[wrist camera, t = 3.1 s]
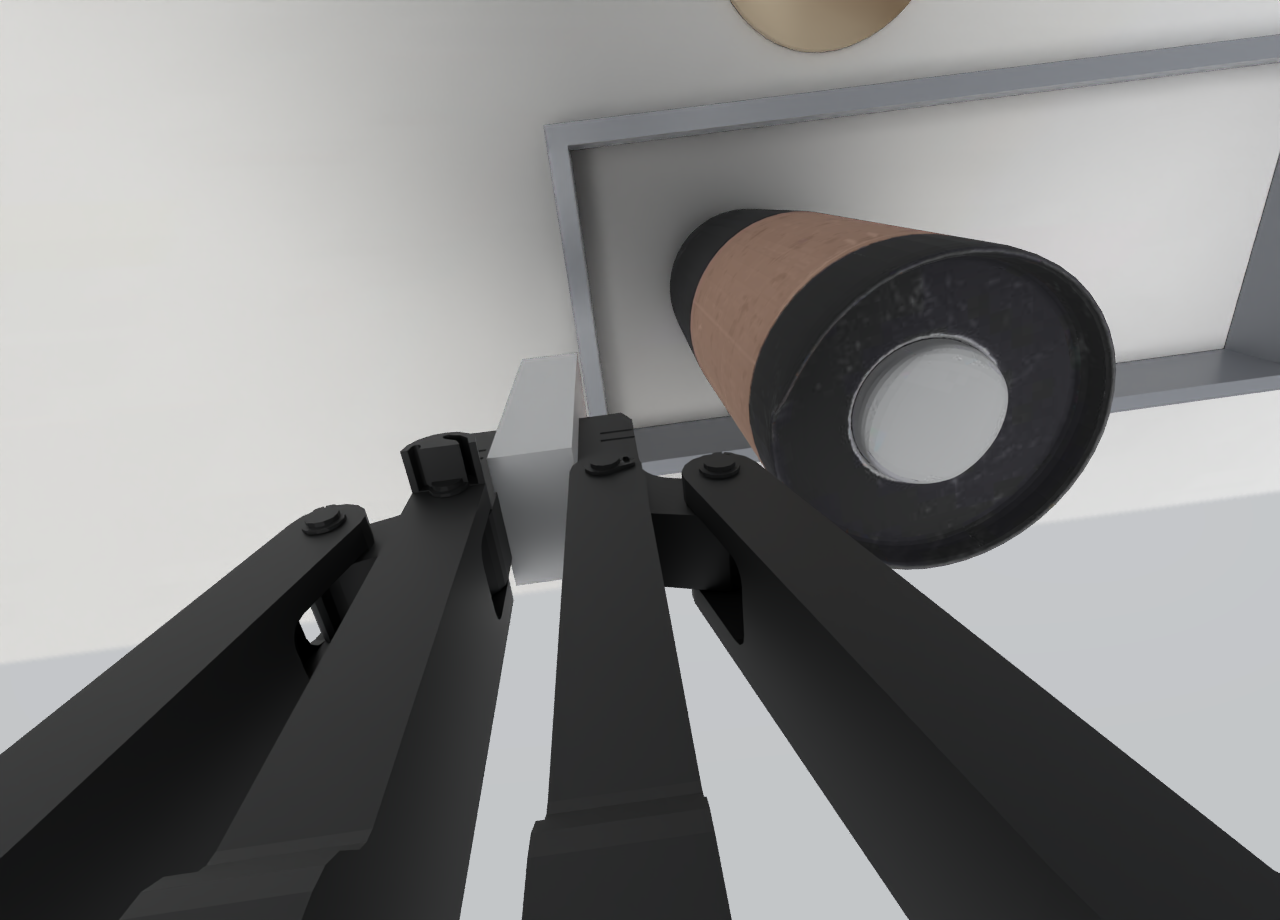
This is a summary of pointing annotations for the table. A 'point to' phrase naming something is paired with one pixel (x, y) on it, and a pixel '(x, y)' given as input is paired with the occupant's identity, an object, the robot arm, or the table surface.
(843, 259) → the travel mug
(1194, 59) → the tray
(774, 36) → the cork coaster
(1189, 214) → the table surface
